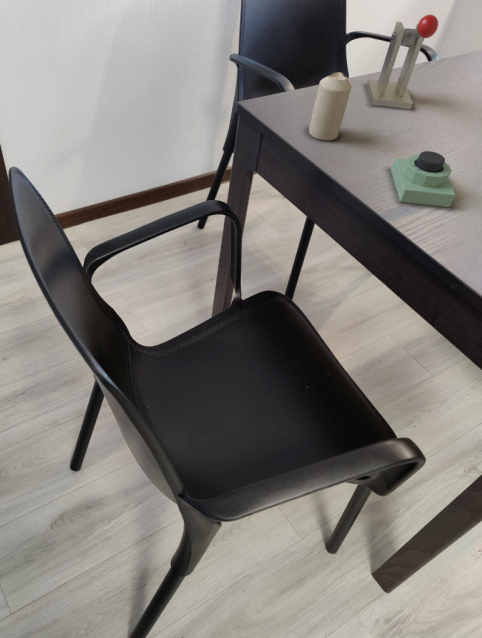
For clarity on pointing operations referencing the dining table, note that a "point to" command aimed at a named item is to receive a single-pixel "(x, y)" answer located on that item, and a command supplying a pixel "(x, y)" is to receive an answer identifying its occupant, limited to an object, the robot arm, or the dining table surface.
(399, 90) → the bracket
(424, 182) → the button box
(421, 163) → the button
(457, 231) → the dining table surface
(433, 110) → the dining table surface
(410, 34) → the lever
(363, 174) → the dining table surface
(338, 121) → the candle
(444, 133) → the dining table surface
